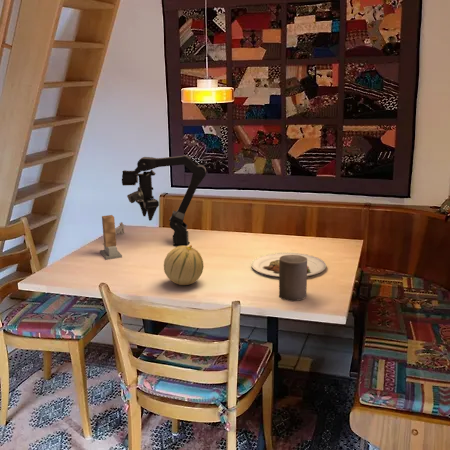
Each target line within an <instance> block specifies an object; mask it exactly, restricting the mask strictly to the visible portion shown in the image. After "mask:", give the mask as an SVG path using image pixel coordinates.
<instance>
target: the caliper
mask: <svg viewBox="0 0 450 450" xmlns="http://www.w3.org/2000/svg"><path fill="white" fill-rule="evenodd" d="M123 223H124V222H122V221H121V222H119V225H118V227H116V228H115V234H116V235H119V234H120V235H124V234H125V226H124V225H125V224H123ZM102 245H104V242H103V243H102Z"/></svg>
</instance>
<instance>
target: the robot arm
mask: <svg viewBox="0 0 450 450" xmlns="http://www.w3.org/2000/svg"><path fill="white" fill-rule="evenodd" d="M136 165H137V166H136V168H135V169H134V170H125V169H124V170H123V171H122V172H121V173H122V175H121V184H122V186H125V187H126V186H136V184H138V185H139V186H138V187H137V190H136V191H133V192H132V193H131V192H130V193H129V194H127V195H126V197H127V198H128V201H129V203H131V204H134V203H137V204H138V205H139V207H140V210H141V214H142V216H143V217H147V218H148V220H149V221H152V220H153V218H154V215H155V213H156V212H157V211H156V210H157V209H158V208H159V206H160V202H159V200H158V199H156V198H155V196H154V195H153V191H154V187H153V183H152V182H153V181H152V176H155V175H157V174H156V172H155V171H154V169H156V168H160V167H161V168H163V167H172V166H182V165H183V166H184V167H185V168H186V169H188V170H189V171H190V172H191V173H192V174H191V175H192V176H191V178H190V183H189V185H188V187H187V190H186V191H185V194H184V196H183V198H182V201H181V202H180V204H179V207H178V208H177V210H176V211H175V210H172V214H171V216H170V217H169V219H168V221H169V227H170V229H171V230H173V235H172V246H174V247H178V246H189V244H190V241H189V231H188V230H187V229H188V224H187V223H186V222H184V221H185V220H184V219H185V216H186V212H187V210H188V208H189V206H190V204H191V201H192V200H193V197H194V195H195V192H196V191H197V189H198V186H199V185H200V184H201V182H202V181H203V179H205V177H206V176H207V175H206V174H207V169H206V167H205V165H203V164H199V163H198V162H196V161H195V160H194V159H192V158H190V157H189V155H187V154H183V155H176V156H168V157H152V156H151V157H150V156H144V157H141V158H139V160H138V161H137V164H136ZM142 172H143V173H142Z"/></svg>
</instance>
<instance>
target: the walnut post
mask: <svg viewBox="0 0 450 450" xmlns="http://www.w3.org/2000/svg"><path fill="white" fill-rule="evenodd" d="M101 223H102V225H101V226H102V235H103V236H102V237H103V243H104V244H103V246H104V245H105V246H106V247H111V246H116V247H117V234H115V230H116V222H115V216H113V214H108V215H102V216H101Z"/></svg>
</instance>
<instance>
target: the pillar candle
mask: <svg viewBox="0 0 450 450" xmlns="http://www.w3.org/2000/svg"><path fill="white" fill-rule="evenodd" d="M278 280H279V281H278V283H279V284H278V297H279V298H280V299H282V300H286V301H292V302H294V301H301V300H304V299H306V298H307V286H308V284H307V282H308V281H307V280H308V276H307V258H306V257H304V256H300V255H285V256H282V257H280V260H279V277H278Z"/></svg>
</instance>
